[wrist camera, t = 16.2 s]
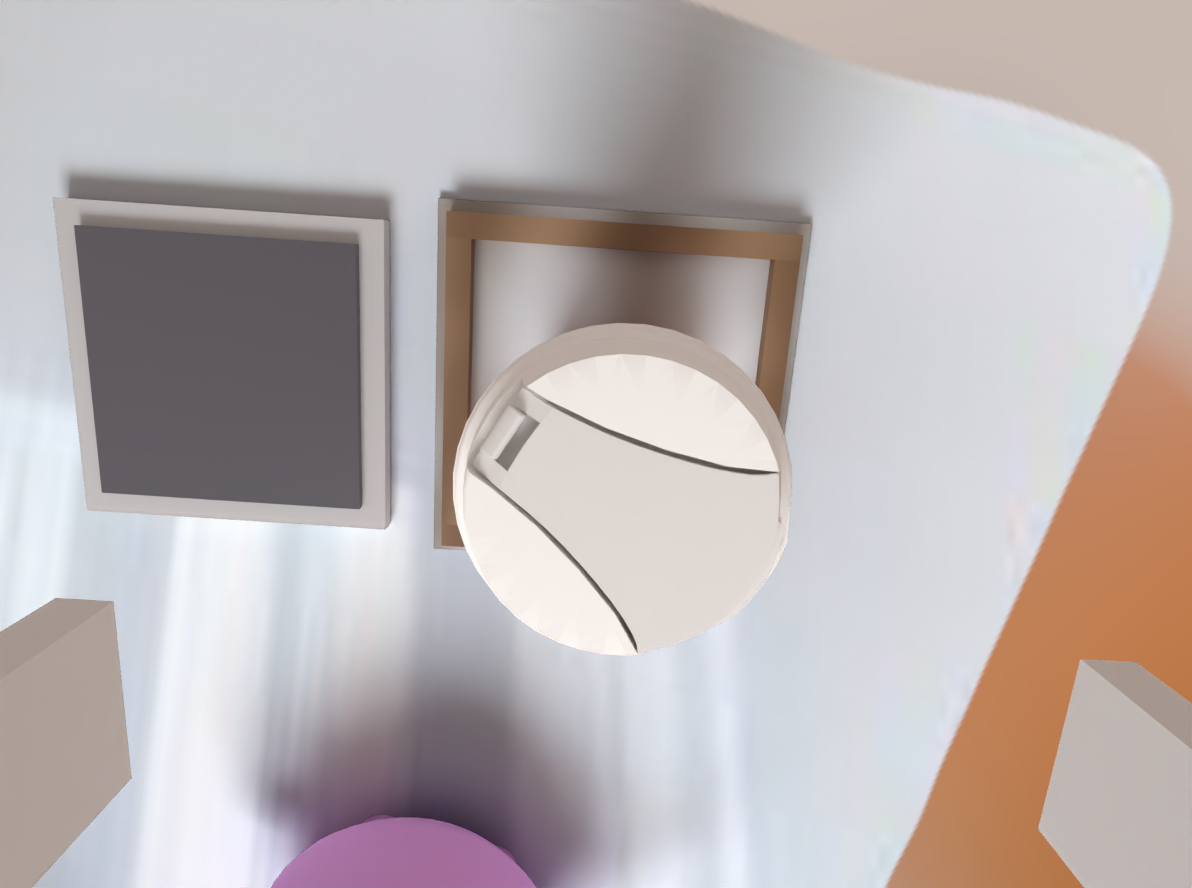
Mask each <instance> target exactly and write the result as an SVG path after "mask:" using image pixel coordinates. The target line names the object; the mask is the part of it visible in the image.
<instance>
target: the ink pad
mask: <svg viewBox="0 0 1192 888" xmlns="http://www.w3.org/2000/svg"><path fill="white" fill-rule="evenodd" d="M53 204H54V213H55V222H56V231H57V241H58V250H59V259H60V268H61V277H62V286H63V295H64V304H65V313H66V322H67V331H68V341H69V350H70V359H71V368H72V377H73V386H74V395H75V404H76V413H77V422H78V432H79V441H80V450H81V459H82V468H83V477H84V486H85V495H86V504H87V510H92V511H107V512H123V513H138V514H153V515H169V516H184V517H200V518H215V519H230V520H246V521H261V522H277V523H292V524H308V525H323V526H338V527H354V528H369V529H386V528H387V527H388V526H389V524H390V221H387V220H379V219H364V218H350V217H335V216H321V215H306V214H292V213H277V212H263V211H248V210H233V209H219V208H204V207H190V206H175V205H161V204H146V203H131V202H117V201H102V200H88V199H73V198H59V197H53Z"/></svg>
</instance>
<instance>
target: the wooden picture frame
mask: <svg viewBox="0 0 1192 888" xmlns="http://www.w3.org/2000/svg"><path fill="white" fill-rule="evenodd" d="M811 229H812V224H808V223H793V222H779V221H764V220H750V219H735V218H721V217H706V216H692V215H677V214H663V213H648V212H634V211H619V210H605V209H590V208H576V207H561V206H547V205H532V204H518V203H503V202H489V201H474V200H460V199H445V198H438V260H437V338H436V416H435V495H434V549H448V550H464V551H467V550H466V548H465V546H464V543H463V540H462V537H461V534H460V531H459V528H458V525H457V520H456V514H455V508H454V502H453V471H454V465H455V459H456V453H457V448H458V445H459V442H460V439H461V436H462V433H463V430H464V427H465V424H466V422H467V420H468V419H469V417H470V415H471V413H472V411H473V409H474V407H475V406H476V404H477V402H478V400H479V399H480V397H481V396H482V395H483V394H484V392H485V391H486V390H487V388H488V387H489V386H490V385H491V383H492V382H493V381H494V379H495V378H496V377H497V376H499V375H500V374H501V373H502V372H503V371H504V370H505V369H506V368H507V367H508V366H509V365H510V364H511V363H513V362H514V361H515V360H516V359H518V358H519V357H521V356H522V355H524V354H525V353H527V352H528V351H530V350H531V349H533V348H534V347H536V346H537V345H539V344H541V343H543V342H545V341H548V340H550V339H552V338H554V337H556V336H559V335H561V334H563V333H566V332H570V331H574V330H577V329H581V328H585V327H588V326H595V325H604V324H613V323H630V324H647V325H652V326H657V327H661V328H666V329H671V330H675V331H677V332H680V333H682V334H685V335H688V336H690V337H693V338H695V339H698V340H700V341H702V342H704V343H705V344H707V345H709V346H710V347H712V348H714V349H716V350H717V351H719V352H721V353H722V354H724V355H725V356H726V357H728V358H729V359H730V360H731V361H732V362H734V363H735V364H736V365H737V366H738V367H740V368H741V369H742V370H743V371H744V372H745V373H746V374H747V375H748V376H749V377H750V379H751V380H752V381H753V382H754V383H755V384H756V385H757V387H758V388H759V389H760V390H761V391H762V393H763V394H764V396H765V397H766V399H767V401H768V402H769V404H770V406H771V407H772V409H773V411H774V412H775V414H776V416H777V419H778V421H779V424H780V426H781V429H782V431H783V434H784V432H785V425H786V417H787V410H788V402H789V395H790V387H791V379H792V372H793V364H794V357H795V349H796V342H797V334H798V327H799V319H800V312H801V304H802V297H803V289H804V282H805V274H806V267H807V259H808V252H809V244H810V236H811Z"/></svg>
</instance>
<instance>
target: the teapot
mask: <svg viewBox="0 0 1192 888" xmlns="http://www.w3.org/2000/svg"><path fill="white" fill-rule="evenodd" d="M271 888H537V887H536V886H535V885H534V883H533V882H532V881H531V879H530V878H529V877H528V875H527V874H526V873H525V872H524V871H523V870H522V869H521V868H520V867H519V866H518V865H517V864H516V860H515V858H514V856H513V855H512V853H511V852H509V851H508V850H507V849H505V848H503V847H500V846H496V845H494V844H492V843H491V842H489V841H487V840H486V839H484V838H483V837H481V836H479V835H478V834H476V833H473V832H471V831H469V830H467V829H465V828H463V827H460V826H457V825H454V824H451V823H448V822H443V821H439V820H434V819H427V818H418V817H399V818H394V817H391V816H389V815H384V814H378V815H373V816H370V817H368V818H367V819H365V820H364V821H363V822H362V823H361V824H357V825H354V826H351V827H348V828H345V829H343V830H340V831H337V832H334V833H332V834H330V835H328V836H326V837H324V838H323V839H321V840H319V841H317V842H316V843H314V844H313V845H311V846H310V847H309V848H307V849H306V850H304V851H303V852H302V853H301V854H300V855H298V856H297V857H296V858H295V859H294V860H293V861H292V862H291V863H290V864H289V865H288V866H287V867H286V868H285V869H284V870H283V871H282V872H281V874H280V875H279V876H278V878H277V879H276V880H275V881H274V883H273V885H272V887H271Z"/></svg>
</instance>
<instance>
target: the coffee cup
mask: <svg viewBox="0 0 1192 888" xmlns="http://www.w3.org/2000/svg"><path fill="white" fill-rule="evenodd" d="M791 497H792V472H791V461H790V457H789V452H788V448H787V443H786V439H785V436H784V434H783V431H782V429H781V426H780V424H779V421H778V419H777V416H776V414H775V412H774V411H773V409H772V407H771V406H770V404H769V402H768V401H767V399H766V397H765V396H764V394H763V393H762V391H761V390H760V389H759V388H758V387H757V385H756V384H755V383H754V382H753V381H752V380H751V379H750V377H749V376H748V375H747V374H746V373H745V372H744V371H743V370H742V369H741V368H740V367H738V366H737V365H736V364H735V363H734V362H732V361H731V360H730V359H729V358H728V357H726V356H725V355H724V354H722V353H721V352H719V351H717V350H716V349H714V348H712V347H710V346H709V345H707V344H705V343H704V342H702V341H700V340H698V339H695V338H693V337H690V336H688V335H685V334H682V333H680V332H677V331H675V330H671V329H666V328H661V327H657V326H652V325H647V324H630V323H613V324H604V325H595V326H588V327H585V328H581V329H577V330H574V331H570V332H566V333H563V334H561V335H559V336H556V337H554V338H552V339H550V340H548V341H545V342H543V343H541V344H539V345H537V346H536V347H534V348H533V349H531V350H530V351H528V352H527V353H525V354H524V355H522V356H521V357H519V358H518V359H516V360H515V361H514V362H513V363H511V364H510V365H509V366H508V367H507V368H506V369H505V370H504V371H503V372H502V373H501V374H500V375H499V376H497V377H496V378H495V379H494V381H493V382H492V383H491V385H490V386H489V387H488V388H487V390H486V391H485V392H484V394H483V395H482V396H481V397H480V399H479V400H478V402H477V404H476V406H475V407H474V409H473V411H472V413H471V415H470V417H469V419H468V420H467V422H466V424H465V427H464V430H463V433H462V436H461V439H460V442H459V445H458V448H457V453H456V459H455V465H454V471H453V502H454V508H455V514H456V520H457V525H458V528H459V531H460V534H461V537H462V540H463V543H464V546H465V548H466V550H467V552H468V554H469V556H470V558H471V560H472V562H473V563H474V565H475V567H476V569H477V571H478V572H479V573H480V575H481V576H482V577H483V579H484V580H485V582H486V583H487V584H488V586H489V587H490V588H491V590H492V591H493V592H494V594H495V595H496V596H497V598H498V599H499V600H500V601H501V602H502V603H503V604H504V605H505V606H506V607H507V608H508V609H509V610H510V611H511V612H512V613H513V614H514V615H515V616H516V617H517V618H518V619H520V620H521V621H523V622H524V623H525V624H527V625H528V626H529V627H531V628H532V629H534V630H535V631H537V632H538V633H540V634H542V635H544V636H546V637H548V638H550V639H552V640H554V641H556V642H558V643H561V644H564V645H567V646H570V647H573V648H576V649H579V650H583V651H588V652H593V653H599V654H605V655H626V656H627V655H638V654H639V653H640V654H642V653H645V652H649V651H652V650H656V649H660V648H663V647H667V646H670V645H673V644H676V643H679V642H682V641H684V640H687V639H690V638H693V637H695V636H697V635H699V634H701V633H702V632H704V631H706V630H708V629H710V628H712V627H714V626H716V625H718V624H720V623H722V622H724V621H726V620H728V619H729V618H731V617H733V616H734V615H735V614H737V613H738V612H739V611H741V610H742V609H743V608H744V607H745V606H746V605H747V604H748V603H749V602H750V600H751V599H752V598H753V597H754V596H755V594H756V593H757V592H758V591H759V589H760V588H761V587H762V586H763V584H764V583H765V581H766V580H767V578H768V577H769V575H770V574H771V572H772V571H773V570H774V568H775V567H776V565H777V563H778V561H779V559H780V557H781V554H782V552H783V550H784V548H785V546H786V544H787V537H788V525H789V513H790V505H791Z"/></svg>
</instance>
